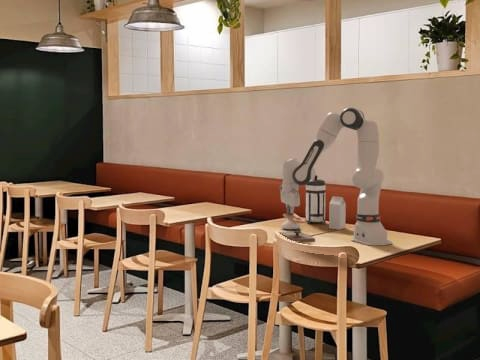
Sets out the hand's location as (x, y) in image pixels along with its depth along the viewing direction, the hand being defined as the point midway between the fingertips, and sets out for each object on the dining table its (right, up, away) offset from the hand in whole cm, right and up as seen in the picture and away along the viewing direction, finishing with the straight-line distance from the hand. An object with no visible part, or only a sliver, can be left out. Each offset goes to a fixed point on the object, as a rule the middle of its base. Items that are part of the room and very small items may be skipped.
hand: (290, 212), depth 333 cm
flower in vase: (+2, -11, +21) cm, 24 cm away
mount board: (+3, -14, -7) cm, 16 cm away
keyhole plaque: (+2, -3, -6) cm, 7 cm away
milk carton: (+30, -11, +21) cm, 38 cm away
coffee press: (+20, -9, +40) cm, 45 cm away
